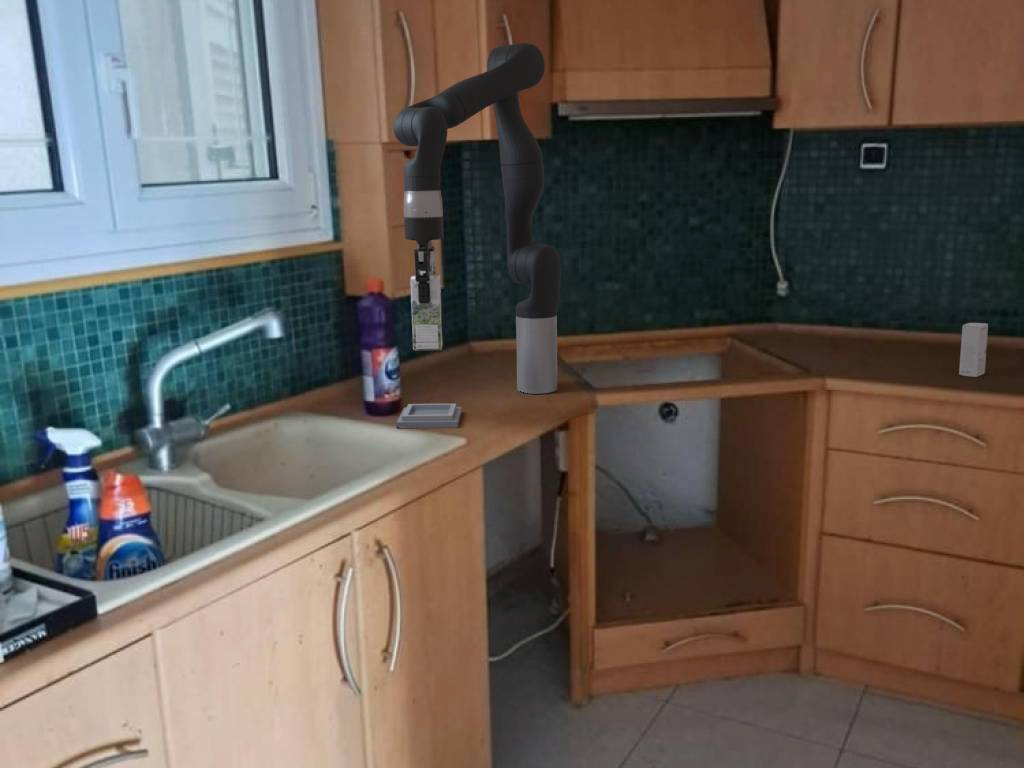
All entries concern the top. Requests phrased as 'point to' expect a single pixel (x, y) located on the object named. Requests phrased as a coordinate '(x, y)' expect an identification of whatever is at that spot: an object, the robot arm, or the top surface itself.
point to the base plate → (430, 416)
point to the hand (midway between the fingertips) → (426, 300)
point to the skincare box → (973, 349)
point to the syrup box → (427, 317)
